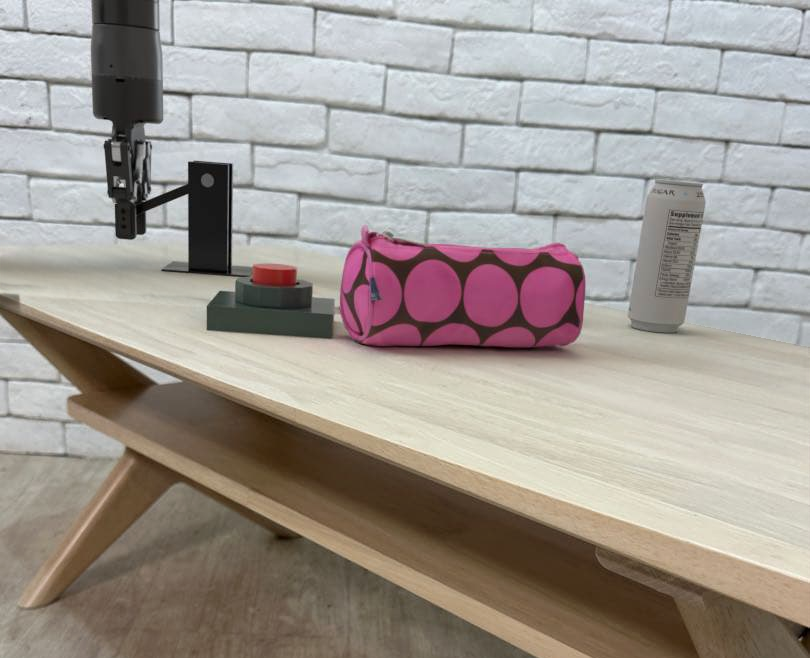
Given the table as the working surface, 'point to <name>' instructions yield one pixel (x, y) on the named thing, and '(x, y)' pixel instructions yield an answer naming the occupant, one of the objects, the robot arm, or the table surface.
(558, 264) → the pencil case
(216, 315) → the control box
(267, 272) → the button
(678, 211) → the energy drink can
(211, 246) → the switch bracket
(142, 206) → the switch lever
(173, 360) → the table surface
